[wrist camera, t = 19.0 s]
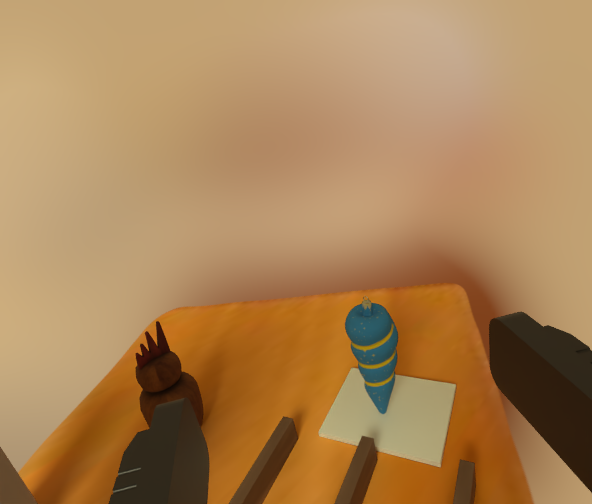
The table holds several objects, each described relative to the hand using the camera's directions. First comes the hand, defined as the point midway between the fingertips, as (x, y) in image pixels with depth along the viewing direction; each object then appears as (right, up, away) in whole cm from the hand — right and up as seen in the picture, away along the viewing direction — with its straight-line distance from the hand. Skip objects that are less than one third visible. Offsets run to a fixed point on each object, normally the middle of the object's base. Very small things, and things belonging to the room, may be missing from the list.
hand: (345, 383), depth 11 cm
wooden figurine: (-15, -19, +40) cm, 47 cm away
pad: (+9, -15, +36) cm, 40 cm away
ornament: (+8, -15, +36) cm, 40 cm away
